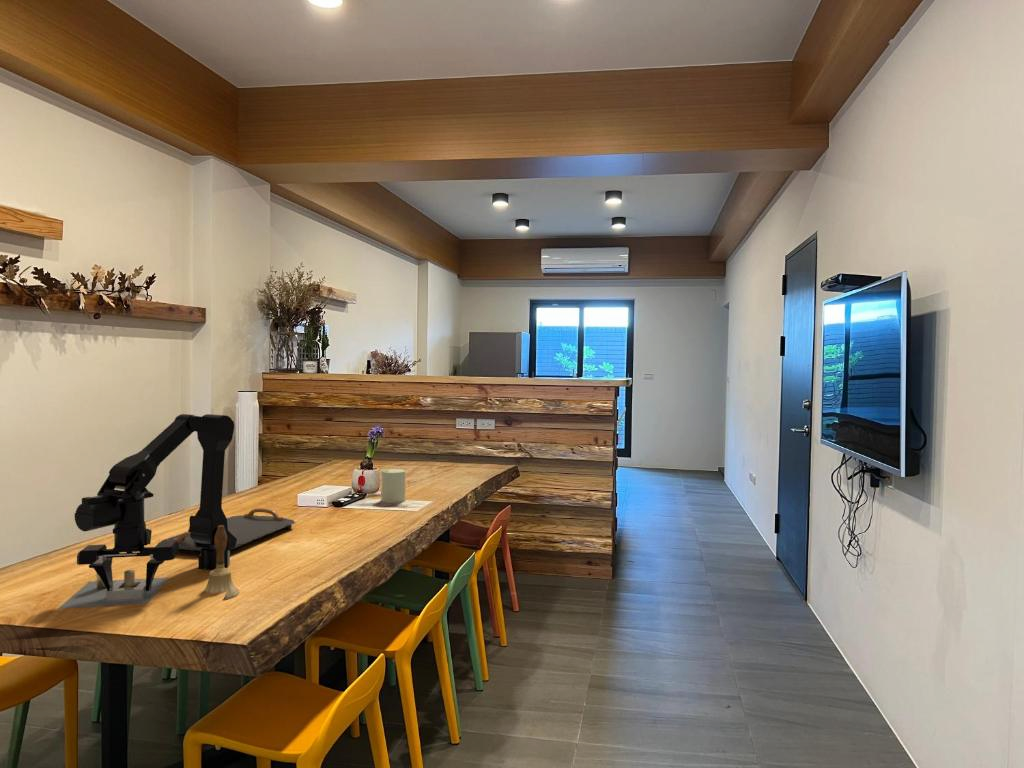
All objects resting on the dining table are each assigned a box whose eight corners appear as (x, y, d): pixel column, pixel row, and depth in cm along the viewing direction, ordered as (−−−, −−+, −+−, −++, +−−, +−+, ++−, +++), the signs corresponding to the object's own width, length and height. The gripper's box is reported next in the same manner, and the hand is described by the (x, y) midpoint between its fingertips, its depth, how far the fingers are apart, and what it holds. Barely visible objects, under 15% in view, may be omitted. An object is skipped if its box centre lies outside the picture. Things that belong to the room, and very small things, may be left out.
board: (169, 583, 159) (169, 577, 159) (147, 609, 142) (147, 602, 142) (89, 588, 155) (89, 581, 155) (57, 615, 138) (57, 608, 138)
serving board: (222, 562, 177) (222, 539, 177) (149, 554, 183) (149, 532, 183) (302, 527, 215) (302, 508, 215) (239, 521, 221) (239, 503, 220)
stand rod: (136, 594, 147) (136, 569, 147) (133, 597, 145) (133, 572, 145) (126, 595, 147) (125, 570, 146) (123, 598, 145) (122, 573, 144)
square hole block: (151, 589, 150) (151, 578, 150) (142, 600, 143) (142, 589, 143) (117, 591, 148) (117, 580, 148) (106, 603, 142) (106, 591, 142)
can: (379, 498, 259) (380, 467, 259) (403, 497, 262) (403, 467, 261) (382, 503, 250) (382, 471, 250) (407, 502, 253) (407, 471, 253)
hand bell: (244, 588, 156) (245, 521, 156) (231, 601, 148) (231, 530, 148) (208, 588, 156) (209, 520, 156) (193, 601, 148) (193, 530, 147)
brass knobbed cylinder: (110, 585, 152) (110, 559, 152) (106, 589, 150) (106, 562, 150) (98, 586, 152) (98, 560, 152) (95, 589, 149) (94, 563, 149)
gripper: (184, 511, 155) (184, 577, 156) (95, 514, 151) (95, 582, 152) (172, 522, 145) (172, 593, 145) (75, 526, 140) (75, 599, 141)
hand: (129, 591), depth 146 cm, fingers closed on square hole block, 7 cm apart
